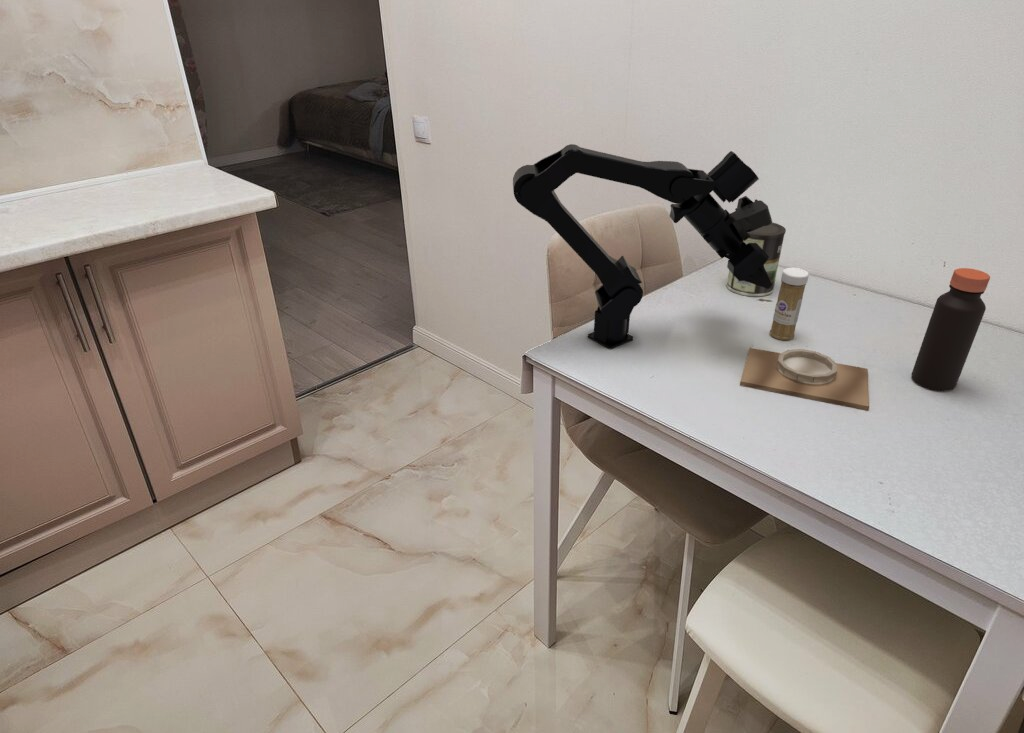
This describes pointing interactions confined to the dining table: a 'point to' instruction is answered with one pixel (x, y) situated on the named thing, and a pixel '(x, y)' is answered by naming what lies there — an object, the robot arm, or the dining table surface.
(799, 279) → the sprinkles bottle
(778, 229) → the coffee can
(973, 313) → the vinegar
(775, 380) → the dish board
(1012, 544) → the dining table surface
